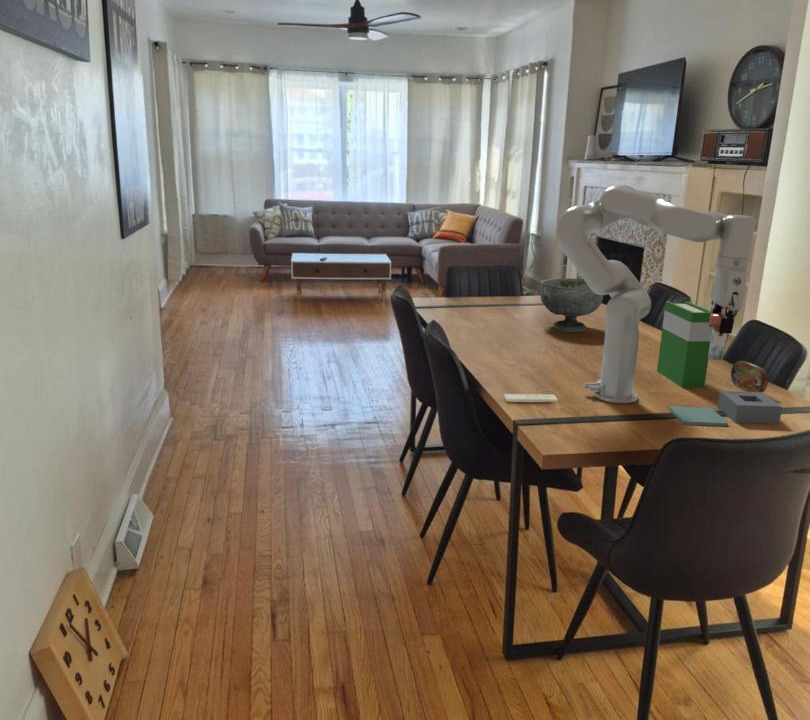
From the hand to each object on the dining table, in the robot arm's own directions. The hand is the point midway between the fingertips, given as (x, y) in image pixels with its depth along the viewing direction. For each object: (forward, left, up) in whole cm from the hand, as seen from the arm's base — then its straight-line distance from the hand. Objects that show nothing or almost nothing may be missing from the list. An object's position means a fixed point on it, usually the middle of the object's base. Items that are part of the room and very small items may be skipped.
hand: (719, 329), depth 189 cm
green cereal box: (+4, +35, -25) cm, 43 cm away
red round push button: (0, 0, -8) cm, 8 cm away
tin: (+22, +26, -25) cm, 43 cm away
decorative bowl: (-20, +102, -25) cm, 107 cm away
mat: (-3, -1, -25) cm, 25 cm away
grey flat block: (+12, +2, -25) cm, 28 cm away
